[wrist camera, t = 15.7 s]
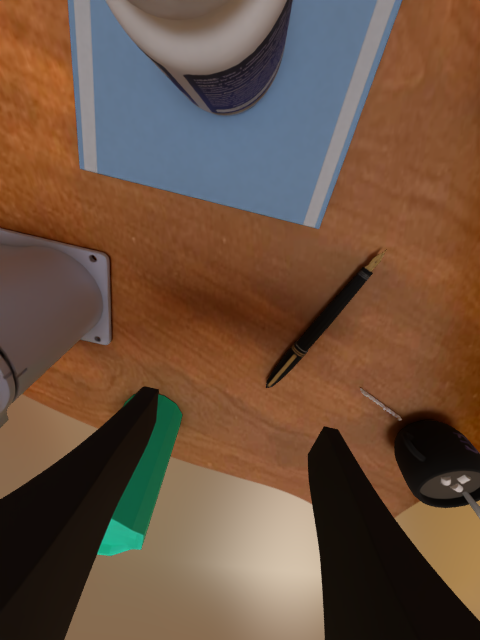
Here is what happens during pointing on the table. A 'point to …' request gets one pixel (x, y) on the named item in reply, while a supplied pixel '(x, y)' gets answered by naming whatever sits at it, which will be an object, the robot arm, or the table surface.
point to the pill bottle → (211, 46)
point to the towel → (231, 130)
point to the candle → (143, 484)
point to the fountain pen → (321, 323)
